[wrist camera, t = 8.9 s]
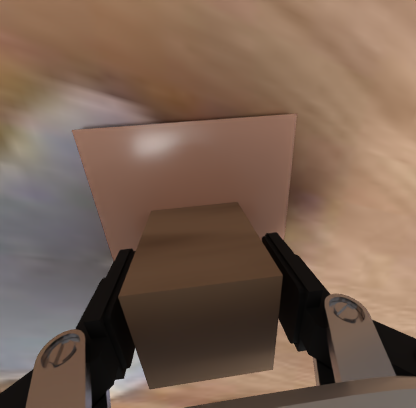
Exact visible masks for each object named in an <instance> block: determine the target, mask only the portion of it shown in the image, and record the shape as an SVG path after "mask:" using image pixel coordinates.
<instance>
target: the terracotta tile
mask: <svg viewBox="0 0 416 408" xmlns="http://www.w3.org/2000/svg"><path fill="white" fill-rule="evenodd" d="M296 120H297V114H283V115H269V116H255V117H242V118H228V119H214V120H201V121H187V122H173V123H159V124H146V125H132V126H118V127H104V128H91V129H78V130H72V132H73V135H74V139H75V142H76V145H77V148H78V151H79V154H80V157H81V161H82V164H83V167H84V170H85V173H86V176H87V179H88V183H89V186H90V189H91V192H92V195H93V198H94V201H95V205H96V208H97V211H98V214H99V217H100V220H101V223H102V227H103V230H104V233H105V236H106V239H107V242H108V245H109V248H110V252H111V255H112V258H113V261H115V259H116V257H117V255H118V253H119V251H120V250H122V249H131V248H132V249H133V251H136V249H137V246H138V244H139V241H140V239H141V236H142V233H143V231H144V228H145V226H146V223H147V220H148V218H149V215H150V213H151V211H154V210H163V209H173V208H183V207H192V206H202V205H212V204H222V203H231V202H238V204H239V205H240V207H241V208H242V210H243V212H244V213H245V215H246V217H247V218H248V220H249V221H250V223H251V225H252V226H253V228H254V230H255V231H256V233H257V234H258V236H259V238H260V239H261V241H262V237H263V236H265V234H266V233H273V232H277V233H278V234H279V235H280V237H281V238H282V239H283V240H284V237H285V228H286V218H287V208H288V198H289V189H290V179H291V169H292V159H293V150H294V140H295V130H296Z"/></svg>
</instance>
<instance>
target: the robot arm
mask: <svg viewBox="0 0 416 408" xmlns="http://www.w3.org/2000/svg"><path fill="white" fill-rule="evenodd" d="M262 242H263V244H264V246H265V247H266V249H267V251H268V252H269V254H270V255H271V257H272V259H273V260H274V262H275V263H276V265H277V267H278V268H279V270H280V272H281V273H282V275H283V279H282V288H281V298H280V307H279V317H278V318H279V320H280V323H281V325H282V327H283V329H284V331H285V333H286V335H287V338H288V340H289V342H290V343H291V344H292V343H294V344H295V346H296V349H297V351H298V352H299V351H305V350H307V352H308V354H309V355H311V356H312V357H313V363H314V371H315V379H316V386H313V387H307V388H301V389H295V390H288V391H282V392H276V393H270V394H263V395H257V396H251V397H245V398H239V399H233V400H227V401H221V402H215V403H209V404H203V405H197V406H191V407H186V408H416V339H415V338H413V337H410V336H408V335H406V334H404V333H401V332H399V331H397V330H394V329H392V328H390V327H388V326H385V325H383V324H381V323H378V322H376V321H374V320H372V319H371V316H370V314H369V312H368V311H367V309H366V308H365V307H364V306H363V305H362V304H361V303H359V302H358V301H357V300H355V299H353V298H351V297H349V296H346V295H343V294H330V293H329V292H328V291H327V290H326V288H325V287H324V286H323V285H322V284H321V282H320V281H319V280H318V279H317V277H316V276H315V275H314V274H313V273H312V271H311V270H310V269H309V268H308V267H307V265H306V264H305V263H304V262H303V260H302V259H301V258H300V257H299V256H298V255H295V254H294V253H293V252H292V250H291V249H290V248H289V247H288V245H287V244H286V243H285V242H284V240H283V239H282V238H281V237H280V235H279V234H278V233H277V232H273V233H266V234H265V236H263V237H262ZM135 252H136V251H133V249H132V248H131V249H122V250H120V251H119V253H118V255H117V257H116V259H115V261H114V262H113V264H112V266H111V268H110V270H109V272H108V274H107V276H106V278H103V279H102V280H101V282H100V283H99V285H98V287H97V289H96V291H95V293H94V295H93V297H92V299H91V300H90V302H89V304H88V306H87V308H86V310H85V312H84V314H83V316H82V317H81V319H80V321H79V323H78V325H77V327H76V329H73V330H68V331H65V332H63V333H61V334H59V335H57V336H56V337H54V338H53V339H52V340H50V341H49V342H48V343H47V344H46V345H45V346H44V347H43V348H42V350H41V351H40V353H39V354H38V356H37V359H36V361H35V365H34V369H33V370H32V371H30V372H29V373H28V374H26V375H25V376H23V377H22V378H21V379H19V380H18V381H17V382H15V383H14V384H13V385H11V386H10V387H9V388H7V389H6V390H5V391H3V392H2V393H1V394H0V408H111V403H110V392H109V389H110V388H111V387H112V386H113V385H114V381H115V380H117V379H124V376H125V372H126V369H127V368H130V366H131V363H132V359H133V354H134V350H135V345H134V342H133V339H132V336H131V333H130V330H129V327H128V324H127V321H126V318H125V315H124V312H123V310H122V307H121V304H120V301H119V298H118V296H119V293H120V291H121V288H122V285H123V283H124V280H125V278H126V275H127V272H128V270H129V267H130V265H131V262H132V259H133V257H134V254H135Z"/></svg>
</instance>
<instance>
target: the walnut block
mask: <svg viewBox="0 0 416 408" xmlns="http://www.w3.org/2000/svg"><path fill="white" fill-rule="evenodd" d="M282 279H283V275H282V273H281V272H280V270H279V268H278V267H277V265H276V263H275V262H274V260H273V259H272V257H271V255H270V254H269V252H268V251H267V249H266V247H265V246H264V244H263V242H262V241H261V239H260V238H259V236H258V234H257V233H256V231H255V230H254V228H253V226H252V225H251V223H250V221H249V220H248V218H247V217H246V215H245V213H244V212H243V210H242V208H241V207H240V205H239V204H238V202H231V203H222V204H212V205H202V206H192V207H183V208H173V209H163V210H154V211H151V213H150V215H149V218H148V220H147V223H146V226H145V228H144V231H143V233H142V236H141V239H140V241H139V244H138V246H137V249H136V252H135V254H134V257H133V259H132V262H131V265H130V267H129V270H128V272H127V275H126V278H125V280H124V283H123V285H122V288H121V291H120V293H119V296H118V298H119V301H120V304H121V307H122V310H123V312H124V315H125V318H126V321H127V324H128V327H129V330H130V333H131V336H132V339H133V342H134V345H135V348H136V351H137V354H138V357H139V360H140V363H141V365H142V368H143V371H144V374H145V377H146V380H147V383H148V386H149V389H155V388H161V387H167V386H173V385H180V384H186V383H192V382H198V381H205V380H211V379H217V378H223V377H230V376H236V375H242V374H248V373H255V372H261V371H267V370H273V364H274V355H275V345H276V336H277V326H278V317H279V307H280V298H281V288H282Z"/></svg>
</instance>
